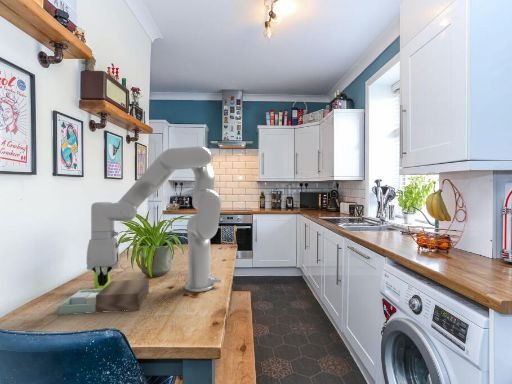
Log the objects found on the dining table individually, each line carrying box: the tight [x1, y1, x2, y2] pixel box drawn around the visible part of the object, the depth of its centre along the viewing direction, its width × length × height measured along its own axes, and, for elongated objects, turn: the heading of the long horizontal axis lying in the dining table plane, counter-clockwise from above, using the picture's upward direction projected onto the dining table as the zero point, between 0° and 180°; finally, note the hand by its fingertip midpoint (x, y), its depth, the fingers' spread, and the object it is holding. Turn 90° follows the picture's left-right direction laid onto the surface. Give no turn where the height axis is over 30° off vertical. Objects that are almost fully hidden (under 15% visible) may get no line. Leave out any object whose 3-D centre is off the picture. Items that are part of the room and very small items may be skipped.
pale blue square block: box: [70, 292, 92, 305], centre depth 106 cm, size 5×5×3 cm
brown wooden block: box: [96, 278, 150, 313], centre depth 107 cm, size 14×16×6 cm
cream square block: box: [86, 293, 98, 304], centre depth 105 cm, size 5×5×3 cm
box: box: [57, 288, 103, 316], centre depth 105 cm, size 12×16×3 cm
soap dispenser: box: [93, 267, 111, 289], centre depth 123 cm, size 6×7×20 cm
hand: (102, 284), depth 106 cm, fingers closed
